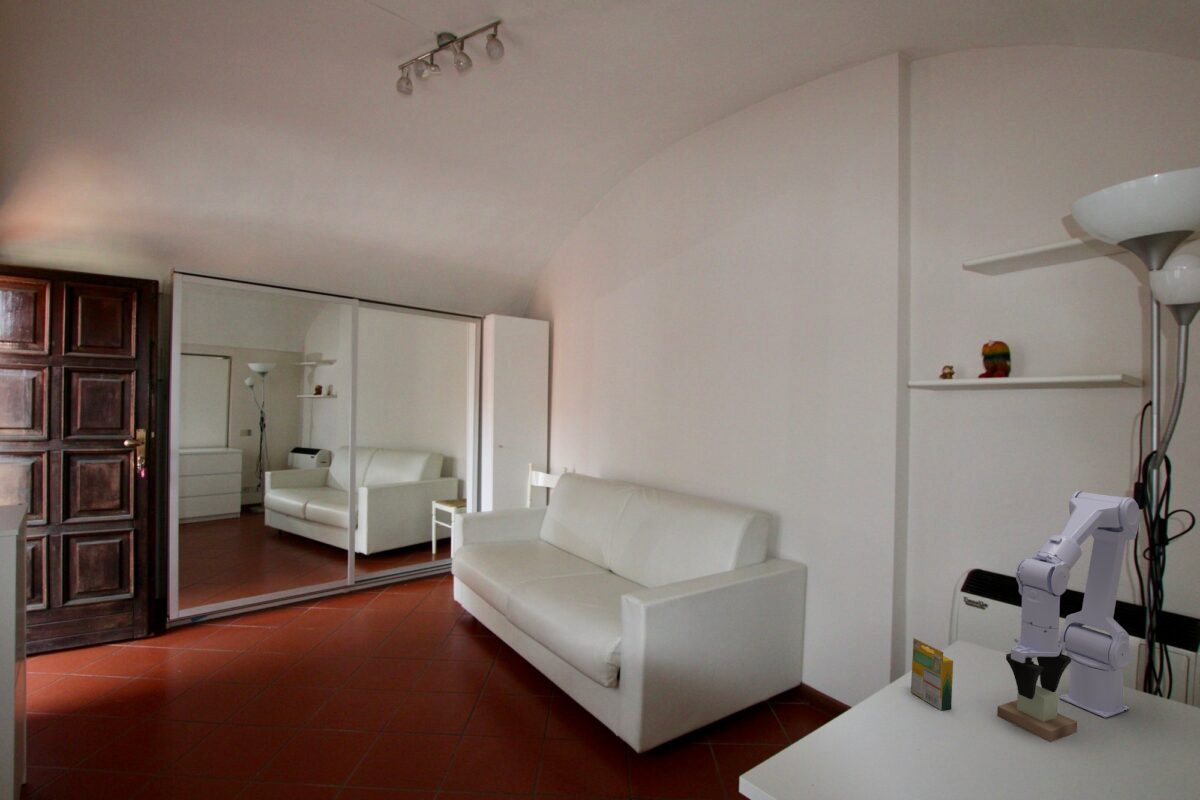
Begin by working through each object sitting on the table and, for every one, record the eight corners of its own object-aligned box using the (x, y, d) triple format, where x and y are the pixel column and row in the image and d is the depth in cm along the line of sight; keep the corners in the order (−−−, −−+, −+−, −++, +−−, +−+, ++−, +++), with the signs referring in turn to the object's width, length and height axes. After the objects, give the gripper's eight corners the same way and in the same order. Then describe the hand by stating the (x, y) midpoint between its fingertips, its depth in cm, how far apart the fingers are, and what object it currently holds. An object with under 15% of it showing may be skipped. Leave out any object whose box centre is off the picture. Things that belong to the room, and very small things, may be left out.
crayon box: (952, 709, 110) (954, 651, 110) (940, 711, 109) (943, 652, 109) (921, 690, 117) (923, 636, 117) (910, 692, 116) (912, 637, 116)
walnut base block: (1023, 710, 112) (1023, 698, 112) (1076, 735, 104) (1077, 721, 104) (997, 718, 108) (997, 706, 108) (1050, 745, 100) (1050, 731, 100)
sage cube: (1030, 705, 109) (1031, 683, 109) (1056, 717, 105) (1057, 694, 105) (1016, 709, 107) (1017, 686, 107) (1043, 721, 103) (1044, 697, 103)
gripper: (1037, 611, 113) (1035, 677, 113) (995, 619, 107) (992, 689, 107) (1079, 624, 106) (1076, 694, 106) (1036, 633, 100) (1033, 708, 100)
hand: (1037, 693), depth 106 cm, fingers open, 7 cm apart
